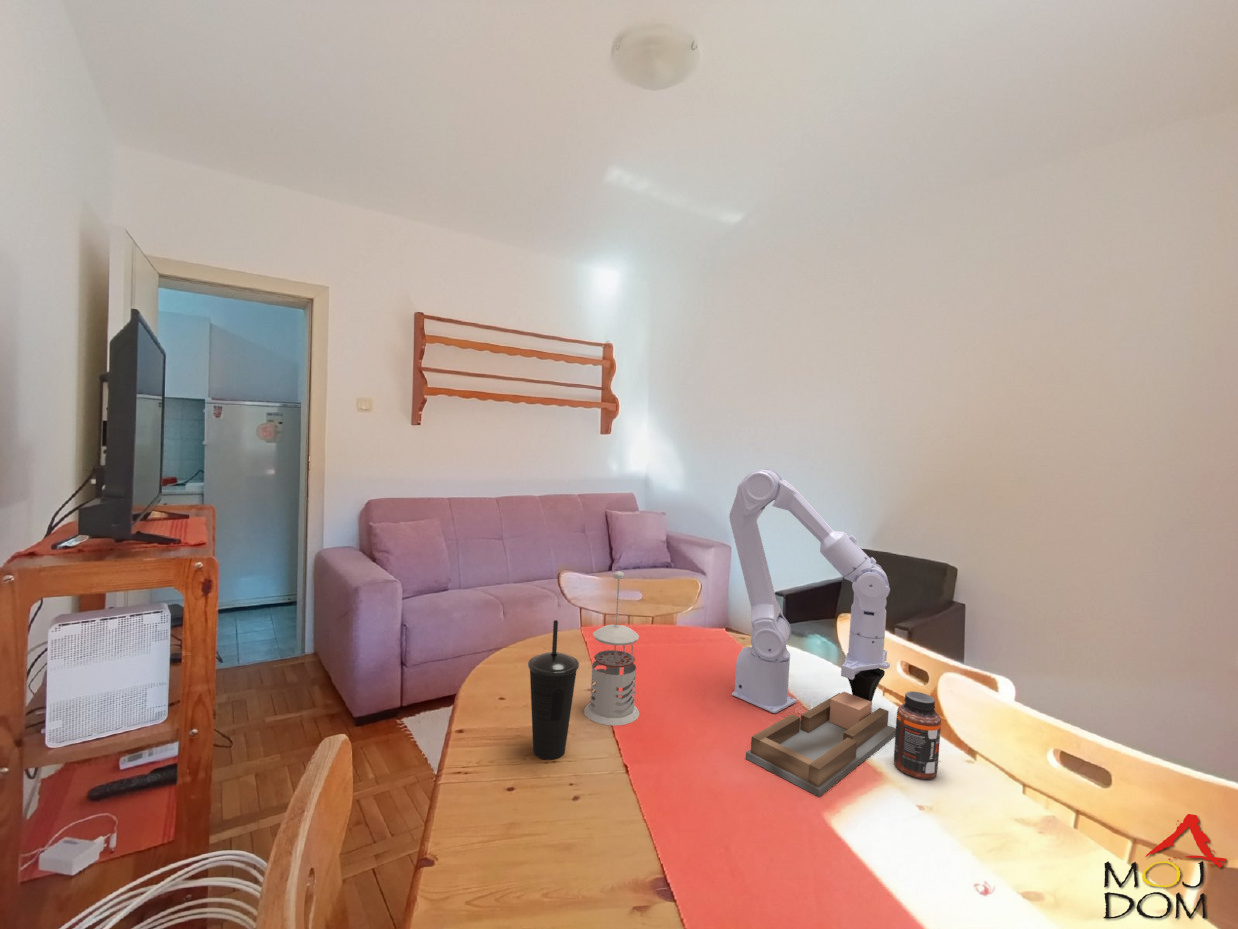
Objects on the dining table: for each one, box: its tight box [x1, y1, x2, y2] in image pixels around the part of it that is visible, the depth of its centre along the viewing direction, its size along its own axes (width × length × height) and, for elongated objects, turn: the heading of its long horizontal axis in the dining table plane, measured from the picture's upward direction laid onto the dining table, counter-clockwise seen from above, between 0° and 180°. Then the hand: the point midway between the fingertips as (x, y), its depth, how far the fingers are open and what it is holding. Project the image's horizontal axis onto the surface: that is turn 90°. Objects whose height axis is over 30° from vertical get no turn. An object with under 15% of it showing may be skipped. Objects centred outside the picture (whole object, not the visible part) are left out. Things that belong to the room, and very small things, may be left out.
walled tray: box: [745, 692, 896, 798], centre depth 91 cm, size 12×28×4 cm, turn 133°
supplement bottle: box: [893, 690, 942, 780], centre depth 85 cm, size 6×6×11 cm
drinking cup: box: [527, 619, 580, 761], centre depth 85 cm, size 8×8×20 cm
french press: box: [583, 570, 640, 727], centre depth 99 cm, size 10×12×25 cm
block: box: [829, 691, 873, 729], centre depth 97 cm, size 5×5×4 cm
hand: (861, 708), depth 100 cm, fingers closed
